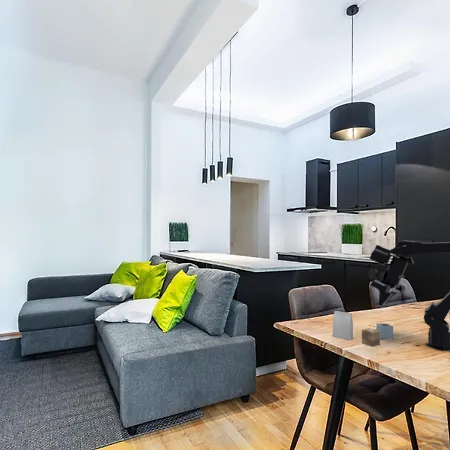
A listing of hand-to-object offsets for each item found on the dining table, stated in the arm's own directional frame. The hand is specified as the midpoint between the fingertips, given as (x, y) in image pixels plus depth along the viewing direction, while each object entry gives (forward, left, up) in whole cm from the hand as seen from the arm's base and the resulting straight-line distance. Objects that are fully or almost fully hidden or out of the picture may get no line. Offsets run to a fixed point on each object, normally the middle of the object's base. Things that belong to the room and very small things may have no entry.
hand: (380, 305), depth 131 cm
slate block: (0, -2, -13) cm, 13 cm away
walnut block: (-6, +9, -13) cm, 17 cm away
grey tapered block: (+3, +15, -13) cm, 20 cm away
